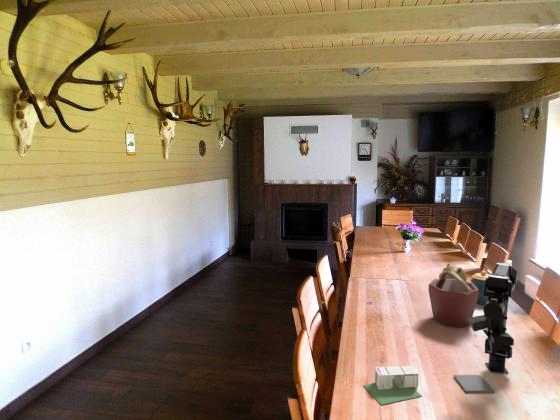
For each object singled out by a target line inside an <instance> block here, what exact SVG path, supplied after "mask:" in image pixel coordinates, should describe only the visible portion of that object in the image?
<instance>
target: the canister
mask: <svg viewBox="0 0 560 420" xmlns="http://www.w3.org/2000/svg"><path fill="white" fill-rule="evenodd" d="M489 274H490V273H487V272H486V271H485V270H482V271H481V272H476V273H474V274H472V277H471V278H470V279H469V280H470V283H473V284H474V285H475V286H476V287H477V288H478V290H479V296H478V299H477V303H476V304H478V305H483V306H485V304H486V302H487V301H488V297H487V296H483V294H484V287H485V281H486V277H488V276H489ZM487 291H488V290H487ZM489 292H492V291H489ZM486 293H487V292H486Z"/></svg>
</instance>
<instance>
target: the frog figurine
mask: <svg viewBox="0 0 560 420" xmlns="http://www.w3.org/2000/svg"><path fill="white" fill-rule="evenodd" d="M451 271H453V272H455V273H456V274H457V275H458V276H459V277H460V278H461V279H462V280H463V281H465V282H467V280H468V277H467V273H466V272H465V271H464V270H463V268H462V267H457V266H454V265H452V264H450V263H447V265H446V267H443V268H442V272H440V273H439V275H438V279H440V276H441V274H442V273H444V272H451ZM446 279H455V278H454V277H453V276H452V275H451V274H448V275H447V276H446Z"/></svg>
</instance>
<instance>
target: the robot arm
mask: <svg viewBox="0 0 560 420" xmlns="http://www.w3.org/2000/svg"><path fill="white" fill-rule="evenodd" d="M488 274H489V276H488V277H486V281H485V287H484V294H483V296H487V297H488V301H487V302H486V304H485V305H483V314H482V315H477V316H473V317H472V318H469V319H468V320H469V323H470V325H469V326H470V329H472V331H473V332H478V331H483V333H484V334H485V336H486V337H485V340H484V353H485V354H488V362H484V363H485V366H486V368H488V371H489V372H490V373H498V374H509V371H508V369H507V367H506V359H507V360H510V359H511V358H512V357H513V347H512V346H514V345H515V339H514V338H513V337H512V336H511V334H509V333H508V332H506V331H507V320H508V308H509V300H510V298H511V297H512V293H513V291H514V290H515V287H516V285H517V284H518V271H517V270H516V269H515V268H514V267H513V264H510V263H505V262H497V263H496V266H495V267H493V270H492V273H488ZM487 290H488V291H487ZM489 291H492V292H489ZM486 292H487V293H486Z"/></svg>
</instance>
